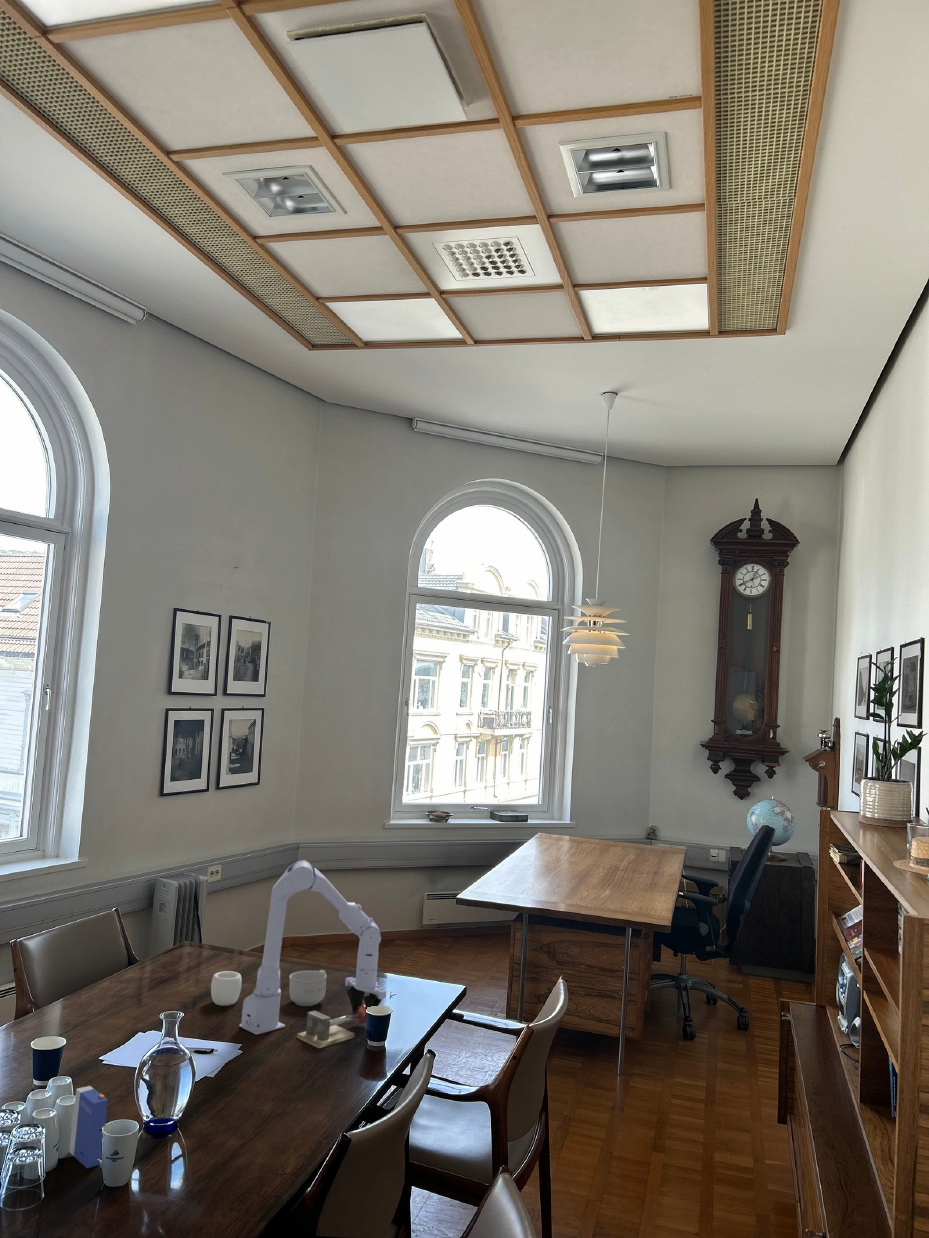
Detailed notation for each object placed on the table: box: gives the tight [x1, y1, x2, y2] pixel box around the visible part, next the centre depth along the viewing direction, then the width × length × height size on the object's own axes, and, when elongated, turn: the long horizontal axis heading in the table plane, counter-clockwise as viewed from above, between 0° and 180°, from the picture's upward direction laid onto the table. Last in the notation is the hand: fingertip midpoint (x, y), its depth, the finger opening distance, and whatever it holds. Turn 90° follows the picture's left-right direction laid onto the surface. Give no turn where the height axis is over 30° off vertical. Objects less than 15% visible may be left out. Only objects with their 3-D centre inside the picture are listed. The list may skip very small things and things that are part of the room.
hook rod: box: [330, 1003, 367, 1027], centre depth 242 cm, size 14×5×5 cm, turn 139°
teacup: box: [288, 969, 327, 1007], centre depth 263 cm, size 14×11×8 cm
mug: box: [210, 970, 243, 1007], centre depth 259 cm, size 12×8×8 cm
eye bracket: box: [296, 1010, 355, 1049], centre depth 237 cm, size 12×9×6 cm
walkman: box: [68, 1085, 109, 1169], centre depth 170 cm, size 8×3×12 cm, turn 47°
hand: (362, 1018), depth 247 cm, fingers closed on hook rod, 5 cm apart
